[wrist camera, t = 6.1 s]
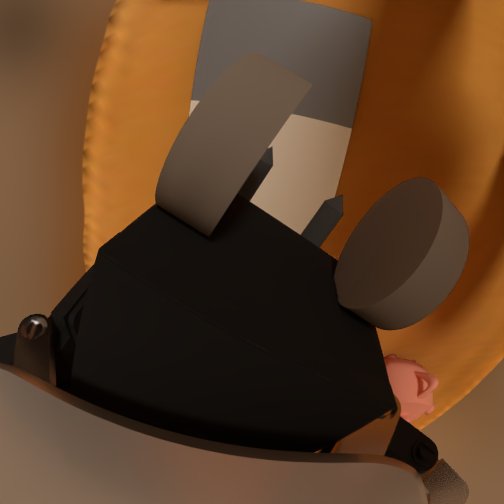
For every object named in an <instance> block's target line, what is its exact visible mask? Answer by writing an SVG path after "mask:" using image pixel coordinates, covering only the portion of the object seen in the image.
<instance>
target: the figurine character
mask: <svg viewBox="0 0 504 504" xmlns="http://www.w3.org/2000/svg"><path fill="white" fill-rule="evenodd" d="M311 86H312V84H310V83H309V82H307V81H306V80H304V79H303V78H301V77H299V76H298V75H296V74H295V73H293V72H291V71H290V70H288V69H286V68H285V67H283V66H281V65H280V64H278V63H276V62H275V61H273V60H271V59H269V58H267V57H266V56H264V55H262V54H260V53H258V52H251V53H248V54H246V55H245V56H243V57H241V58H240V59H239V60H237V61H236V62H235V63H234V64H232V65H231V66H230V67H229V68H228V69H227V70H226V71H225V72H224V73H223V74H222V75H221V76H220V77H219V78H218V79H217V80H216V81H215V83H214V84H213V85H212V86H211V87H210V88H209V90H208V91H207V92H206V93H205V95H204V96H203V97H202V99H201V100H200V101H199V103H198V104H197V105H196V107H195V108H194V110H193V111H192V113H191V114H190V116H189V117H188V119H187V121H186V122H185V124H184V125H183V127H182V129H181V131H180V132H179V134H178V136H177V138H176V140H175V142H174V144H173V146H172V147H171V150H170V152H169V154H168V156H167V158H166V161H165V163H164V166H163V168H162V171H161V174H160V177H159V180H158V184H157V188H156V194H155V201H156V204H154V205H153V206H152V207H151V208H149V209H148V210H147V211H146V212H144V213H143V214H142V215H141V216H140V217H138V218H137V219H136V220H135V221H133V222H132V223H131V224H130V225H129V226H127V227H126V228H125V229H124V230H123V231H122V232H119V233H118V234H117V235H115V236H114V237H113V238H112V239H110V240H109V241H108V242H107V243H105V244H104V245H103V246H102V247H100V248H99V251H98V254H97V257H96V260H95V264H94V267H93V271H92V274H91V278H90V282H89V286H88V290H87V294H86V298H85V302H84V306H83V311H82V315H81V320H80V325H79V330H78V336H77V341H76V347H75V354H74V360H73V368H72V376H71V385H70V394H71V395H73V396H76V397H78V398H80V399H82V400H84V401H86V402H89V403H91V404H93V405H96V406H98V407H100V408H103V409H105V410H108V411H110V412H113V413H116V414H118V415H121V416H124V417H127V418H129V419H132V420H135V421H138V422H141V423H144V424H147V425H150V426H154V427H157V428H160V429H164V430H167V431H171V432H175V433H179V434H183V435H187V436H191V437H195V438H200V439H204V440H209V441H214V442H220V443H225V444H231V445H237V446H244V447H251V448H259V449H268V450H279V451H293V452H312V453H314V452H317V451H319V450H321V449H323V448H325V447H327V446H329V445H331V444H333V443H335V442H337V441H339V440H341V439H343V438H345V437H347V436H348V435H350V434H352V433H354V432H356V431H357V430H359V429H361V428H363V427H364V426H366V425H368V424H369V423H371V422H373V421H374V420H376V419H378V418H379V417H381V416H382V415H384V414H386V413H387V412H389V411H390V410H392V409H393V408H395V407H396V406H397V404H396V400H395V397H394V393H393V390H392V387H391V384H390V382H389V378H388V373H387V369H386V365H385V361H384V357H383V353H382V349H381V346H380V342H379V338H378V335H377V331H376V328H375V327H377V328H380V329H383V330H398V329H402V328H405V327H408V326H411V325H413V324H415V323H417V322H419V321H420V320H422V319H423V318H425V317H426V316H428V315H429V314H430V313H432V312H433V311H434V310H435V309H436V308H437V307H438V306H439V305H440V304H441V303H442V302H443V301H444V300H445V299H446V297H447V296H448V295H449V294H450V292H451V291H452V289H453V288H454V286H455V285H456V283H457V281H458V279H459V278H460V276H461V273H462V271H463V269H464V266H465V263H466V260H467V256H468V251H469V230H468V226H467V223H466V221H465V219H464V217H463V216H462V215H461V213H460V212H459V211H458V210H457V208H456V207H455V206H454V205H453V203H452V202H451V201H450V200H449V199H448V197H447V196H446V195H445V194H444V193H443V191H442V190H441V189H440V188H439V187H438V186H437V185H436V184H435V182H433V181H432V180H430V179H428V178H422V177H420V178H413V179H409V180H407V181H404V182H402V183H400V184H399V185H397V186H395V187H394V188H392V189H391V190H390V191H388V192H387V193H386V194H385V195H384V196H382V197H381V198H380V199H379V200H378V201H377V202H376V203H375V204H374V205H373V206H372V207H371V208H370V210H369V211H368V212H367V213H366V214H365V216H364V217H363V218H362V219H361V221H360V222H359V223H358V225H357V226H356V228H355V229H354V231H353V232H352V234H351V236H350V237H349V239H348V241H347V243H346V244H345V246H344V248H343V251H342V253H341V255H340V258H339V260H338V261H337V260H336V259H335V258H333V257H332V256H330V255H329V254H327V253H326V252H325V251H323V250H322V249H320V248H319V247H320V246H321V245H322V243H323V242H324V241H325V239H326V238H327V236H328V235H329V234H330V232H331V231H332V230H333V228H334V227H335V226H336V224H337V223H338V222H339V220H340V219H341V217H342V216H343V195H340V196H337V197H334V198H331V199H328V200H324V202H323V204H322V205H321V207H320V208H319V209H318V211H317V212H316V214H315V215H314V216H313V218H312V219H311V221H310V222H309V223H308V225H307V226H306V228H305V229H304V230H303V232H302V233H301V235H300V234H298V233H297V232H295V231H294V230H292V229H291V228H289V227H288V226H286V225H285V224H283V223H282V222H280V221H279V220H277V219H276V218H274V217H273V216H271V215H270V214H268V213H267V212H265V211H264V210H262V209H261V208H259V207H258V206H256V205H255V204H253V203H252V202H250V200H251V199H252V197H253V196H254V194H255V193H256V191H257V190H258V188H259V187H260V185H261V183H262V182H263V180H264V179H265V177H266V176H267V174H268V173H269V171H270V170H271V168H272V167H273V146H272V147H270V148H268V147H269V145H270V144H271V143H272V141H273V140H274V138H275V137H276V135H277V134H278V132H279V131H280V130H281V128H282V127H283V125H284V124H285V123H286V121H287V120H288V118H289V117H290V115H291V114H292V113H293V111H294V110H295V108H296V107H297V106H298V104H299V103H300V102H301V100H302V99H303V97H304V96H305V95H306V93H307V92H308V90H309V89H310V88H311Z"/></svg>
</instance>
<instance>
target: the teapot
mask: <svg viewBox="0 0 504 504" xmlns="http://www.w3.org/2000/svg"><path fill="white" fill-rule="evenodd" d="M384 361H385V365H386V369H387V373H388V378H389V382H390V384H391V387H392V390H393V393H394V395H395V396H396V397H397V398H398V400H399V402H400V404H401V414H400V416H401V417H402V418H403V419H405V420H406V421H407V422H409V423H410V422H412V421H414V420H415V419H417V418H418V417H420V416H421V415H423V414H424V413H425V414H426V415H428V414H430V413H431V412H432V411H433V410H434V408H435V406H434V405H433V393H432V392H433V391H434V390H435V389H436V388H437V386H438V383H439V382H438V379H437V378H436V377H435V376H434V375H431V374H429V373H428V372H427V370H426V369H425V368H424V367H423V366H422V365H420V364H418V363H416V361H415V360H411V361H410V360H406V359H400V358H396V355H395V354H390V355H387V356H386V357H385V358H384Z"/></svg>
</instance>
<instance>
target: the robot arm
mask: <svg viewBox="0 0 504 504" xmlns="http://www.w3.org/2000/svg"><path fill="white" fill-rule="evenodd" d="M93 267H94V265H93V266H92V267H91V268H90V269H89V270H88V271H87V272H86V273H85V274H84V275H83V276H82V278H81V279H80V280H79V281H78V282H77V283H76V284H75V285H74V286H73V288H72V289H71V290H70V291H69V292H68V293H67V295H66V296H65V297H64V298H63V299H62V300H61V301H60V303H59V304H58V305H57V306H56V307H55V308H54V310H53V311H52V312H51V315H50V317H49V318H48V317H46V316H45V315H43V314H32V315H29V316H28V317H26V318H24V319H23V320H22V321H21V323H20V324H19V327H18V331H17V333H14V334H10V335H7V336H3V337H0V504H464V503H465V502H466V500H467V498H468V494H469V489H468V485H467V484H466V483H465V481H464V480H463V479H462V478H461V477H460V476H459V475H458V474H457V473H456V472H455V471H454V470H453V469H452V468H451V467H450V466H449V465H448V464H447V463H446V462H445V461H444V460H443V459H440V460H438V450H437V447H436V445H435V443H434V442H433V441H432V440H431V439H430V438H428V437H427V436H426V435H424V434H423V433H422V432H420V431H419V430H418V429H416V428H415V427H414V426H412V425H411V424H410V423H409V422H407V421H406V420H405V419H403V418H402V417H401V416H400V414H401V404H400V402H399V400H398V398H397V397H396V396H395V395H394V397H395V400H396V404H397V406H396V407H395V408H393V409H392V410H390V411H389V412H387V413H386V414H384V415H382V416H381V417H379V418H378V419H376V420H374V421H373V422H371V423H369V424H368V425H366V426H364V427H363V428H361V429H359V430H357V431H356V432H354V433H352V434H350V435H348V436H347V437H345V438H343V439H341V440H339V441H337V442H335V443H333V444H331V445H329V446H327V447H325V448H323V449H321V450H319V451H318V452H317V453H312V452H293V451H279V450H268V449H259V448H251V447H244V446H237V445H231V444H225V443H220V442H214V441H209V440H204V439H200V438H195V437H191V436H187V435H183V434H179V433H175V432H171V431H167V430H164V429H160V428H157V427H154V426H150V425H147V424H144V423H141V422H138V421H135V420H132V419H129V418H127V417H124V416H121V415H118V414H116V413H113V412H110V411H108V410H105V409H103V408H100V407H98V406H96V405H93V404H91V403H89V402H86V401H84V400H82V399H80V398H78V397H76V396H73V395H71V394H70V385H71V376H72V368H73V360H74V354H75V347H76V341H77V336H78V330H79V325H80V320H81V315H82V311H83V306H84V302H85V298H86V294H87V290H88V286H89V282H90V278H91V274H92V271H93Z"/></svg>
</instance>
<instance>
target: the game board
mask: <svg viewBox="0 0 504 504" xmlns="http://www.w3.org/2000/svg"><path fill="white" fill-rule="evenodd" d="M371 24H372V20H370V19H368V18H365V17H362V16H359V15H355V14H352V13H349V12H346V11H342V10H339V9H335V8H331V7H327V6H323V5H319V4H314V3H310V2H305V1H299V0H209V4H208V9H207V13H206V18H205V23H204V27H203V32H202V38H201V43H200V48H199V54H198V59H197V65H196V71H195V78H194V84H193V91H192V98H191V105H190V113H189V116H190V114H191V113H192V111H193V110H194V108H195V107H196V105H197V104H198V103H199V101H200V100H201V99H202V97H203V96H204V95H205V93H206V92H207V91H208V90H209V88H210V87H211V86H212V85H213V84H214V83H215V81H216V80H217V79H218V78H219V77H220V76H221V75H222V74H223V73H224V72H225V71H226V70H227V69H228V68H229V67H230V66H231V65H232V64H234V63H235V62H236V61H237V60H239V59H240V58H241V57H243V56H245V55H246V54H248V53H251V52H258V53H260V54H262V55H264V56H266V57H267V58H269V59H271V60H273V61H275V62H276V63H278V64H280V65H281V66H283V67H285V68H286V69H288V70H290V71H291V72H293V73H295V74H296V75H298V76H299V77H301V78H303V79H304V80H306V81H307V82H309V83H310V84H312V86H311V88H310V89H309V90H308V92H307V93H306V95H305V96H304V97H303V99H302V100H301V102H300V103H299V104H298V106H297V107H296V108H295V110H294V111H293V113H292V114H291V115H290V117H289V118H288V120H287V121H286V123H285V124H284V125H283V127H282V128H281V130H280V131H279V132H278V134H277V135H276V137H275V138H274V140H273V141H272V143H271V144H270V145H269V147H268V148H270V147H272V146H273V167H272V168H271V170H270V171H269V173H268V174H267V176H266V177H265V179H264V180H263V182H262V183H261V185H260V187H259V188H258V190H257V191H256V193H255V194H254V196H253V197H252V199H251V200H250V202H252V203H253V204H255V205H256V206H258V207H259V208H261V209H262V210H264V211H265V212H267V213H268V214H270V215H271V216H273V217H274V218H276V219H277V220H279V221H280V222H282V223H283V224H285V225H286V226H288V227H289V228H291V229H292V230H294V231H295V232H297V233H298V234H300V235H301V233H302V232H303V230H304V229H305V228H306V226H307V225H308V223H309V222H310V221H311V219H312V218H313V216H314V215H315V214H316V212H317V211H318V209H319V208H320V207H321V205H322V204H323V202H324V200H328V199H331V198H334V197H335V194H336V190H337V187H338V183H339V179H340V175H341V172H342V168H343V164H344V160H345V156H346V152H347V148H348V144H349V139H350V135H351V131H352V127H353V122H354V118H355V113H356V108H357V104H358V99H359V94H360V89H361V84H362V79H363V73H364V68H365V62H366V56H367V50H368V44H369V38H370V31H371ZM319 248H320V247H319Z"/></svg>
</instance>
